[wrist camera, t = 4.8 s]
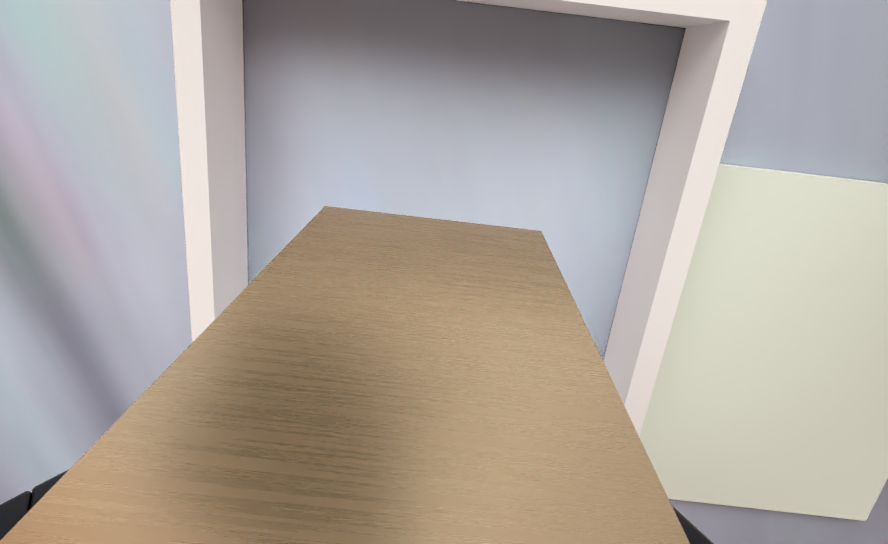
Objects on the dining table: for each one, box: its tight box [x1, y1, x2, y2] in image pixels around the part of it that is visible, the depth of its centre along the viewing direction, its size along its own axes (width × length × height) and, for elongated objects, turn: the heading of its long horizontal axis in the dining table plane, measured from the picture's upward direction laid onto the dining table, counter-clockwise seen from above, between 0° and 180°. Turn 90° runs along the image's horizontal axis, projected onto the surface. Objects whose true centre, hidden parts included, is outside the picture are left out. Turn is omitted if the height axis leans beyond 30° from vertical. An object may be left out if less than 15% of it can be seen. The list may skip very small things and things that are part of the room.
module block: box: [0, 206, 690, 544], centre depth 7 cm, size 4×5×8 cm
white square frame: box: [170, 0, 767, 436], centre depth 18 cm, size 16×16×3 cm
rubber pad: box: [639, 163, 888, 521], centre depth 21 cm, size 11×14×1 cm
